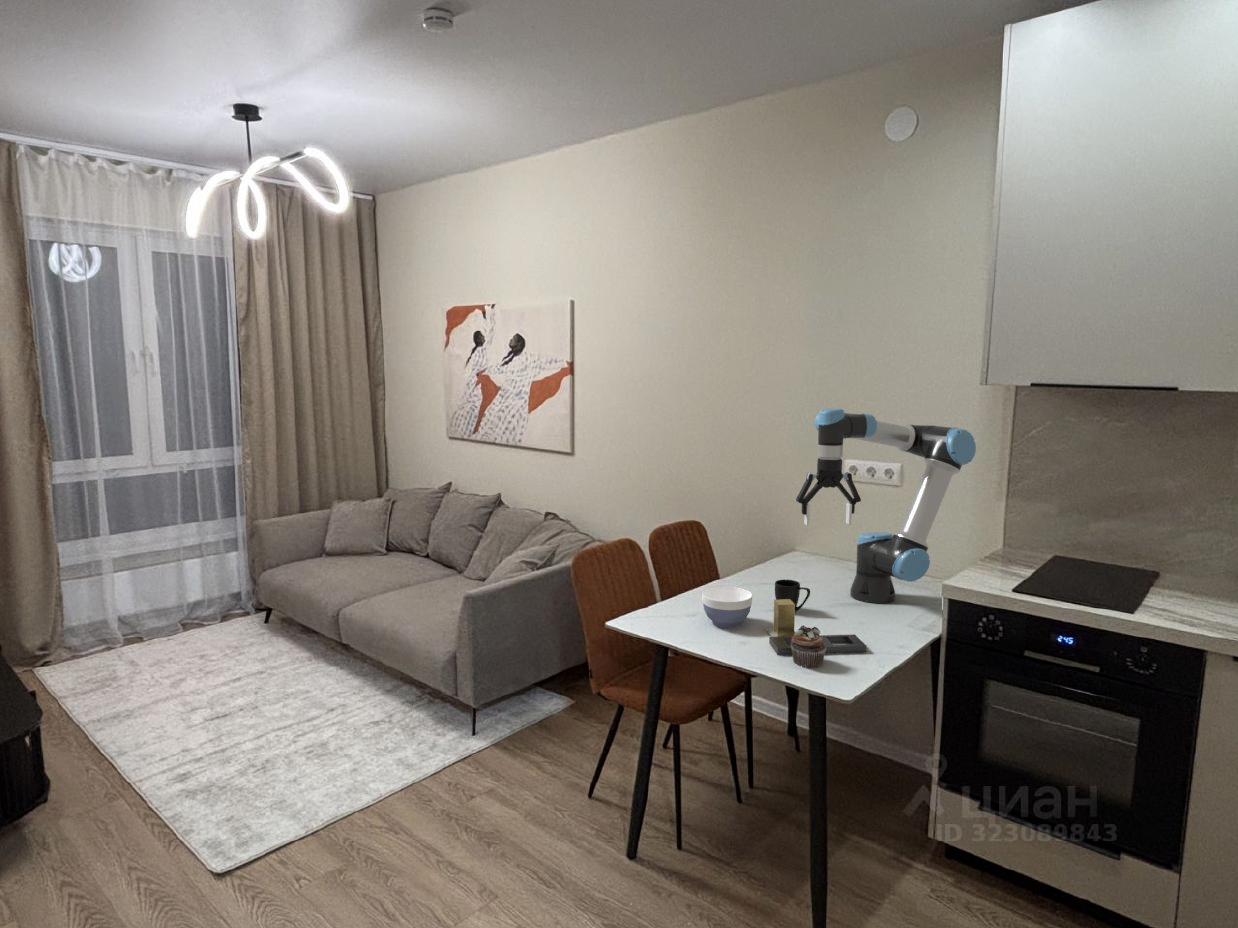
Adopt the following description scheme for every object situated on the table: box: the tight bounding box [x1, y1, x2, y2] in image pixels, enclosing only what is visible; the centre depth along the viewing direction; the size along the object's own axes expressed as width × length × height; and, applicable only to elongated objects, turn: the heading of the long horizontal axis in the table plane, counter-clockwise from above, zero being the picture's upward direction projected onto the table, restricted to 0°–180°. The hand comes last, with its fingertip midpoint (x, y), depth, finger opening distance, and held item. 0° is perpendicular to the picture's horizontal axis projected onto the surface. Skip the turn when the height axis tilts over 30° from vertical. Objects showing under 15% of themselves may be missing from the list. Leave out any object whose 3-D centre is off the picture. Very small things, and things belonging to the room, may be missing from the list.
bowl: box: [701, 586, 753, 629], centre depth 241 cm, size 16×16×10 cm
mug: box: [774, 579, 811, 612], centre depth 252 cm, size 8×12×10 cm
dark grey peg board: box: [768, 634, 867, 656], centre depth 220 cm, size 26×9×2 cm, turn 94°
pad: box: [766, 628, 796, 637], centre depth 231 cm, size 8×8×1 cm
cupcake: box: [790, 624, 826, 669], centre depth 210 cm, size 10×10×10 cm
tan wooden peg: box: [772, 599, 796, 637], centre depth 230 cm, size 5×5×10 cm
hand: (827, 524), depth 240 cm, fingers open, 13 cm apart
